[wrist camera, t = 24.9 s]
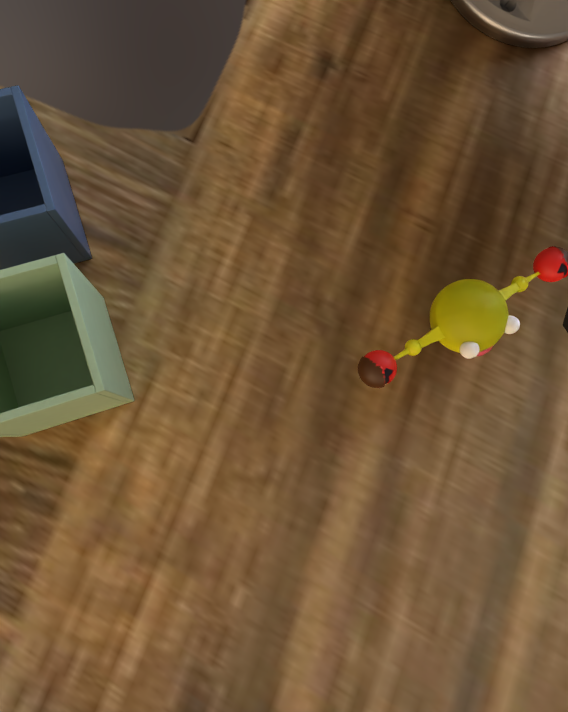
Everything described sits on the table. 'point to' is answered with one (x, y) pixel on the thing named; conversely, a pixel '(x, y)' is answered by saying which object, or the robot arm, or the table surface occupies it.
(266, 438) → the table surface
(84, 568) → the table surface
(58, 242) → the blue basket
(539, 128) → the table surface
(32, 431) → the green basket
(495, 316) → the toy figure
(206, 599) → the table surface
